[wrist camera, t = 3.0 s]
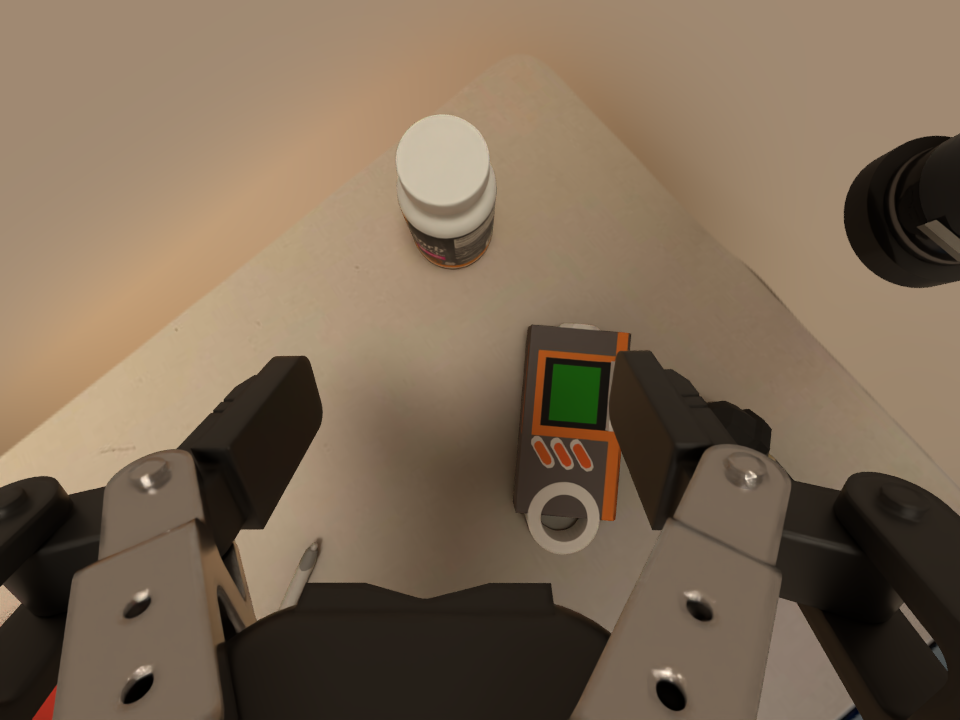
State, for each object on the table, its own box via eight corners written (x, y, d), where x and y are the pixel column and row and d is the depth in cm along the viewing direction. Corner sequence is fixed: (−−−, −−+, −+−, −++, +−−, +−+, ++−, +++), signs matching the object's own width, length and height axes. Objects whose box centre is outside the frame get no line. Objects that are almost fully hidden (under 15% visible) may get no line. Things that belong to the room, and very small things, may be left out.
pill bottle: (398, 231, 30) (358, 157, 20) (455, 178, 30) (443, 79, 21) (452, 287, 30) (439, 239, 20) (509, 232, 30) (523, 159, 20)
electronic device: (513, 552, 27) (533, 318, 27) (509, 533, 30) (527, 322, 30) (618, 561, 27) (638, 327, 27) (604, 541, 30) (622, 331, 30)
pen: (327, 541, 29) (319, 549, 28) (241, 734, 28) (228, 752, 27) (314, 535, 29) (305, 543, 28) (227, 728, 28) (214, 746, 27)
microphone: (855, 568, 32) (678, 389, 30) (959, 593, 26) (751, 377, 25) (832, 634, 30) (641, 448, 28) (938, 675, 25) (711, 448, 23)
